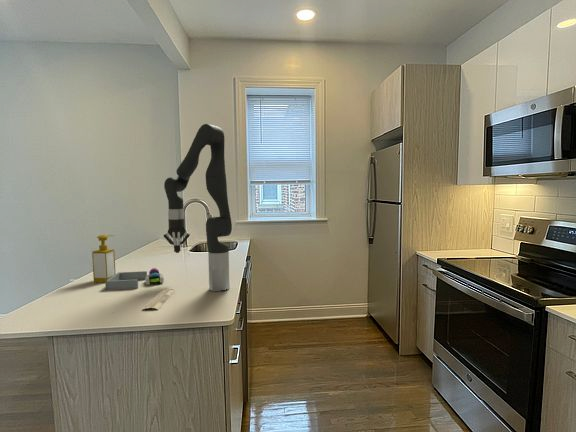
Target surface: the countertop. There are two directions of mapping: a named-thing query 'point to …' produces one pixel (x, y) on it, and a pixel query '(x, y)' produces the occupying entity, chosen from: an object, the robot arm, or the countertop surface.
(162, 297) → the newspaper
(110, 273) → the soap bottle
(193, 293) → the countertop surface
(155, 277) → the rainbow striped dome
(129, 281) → the tray
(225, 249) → the robot arm
